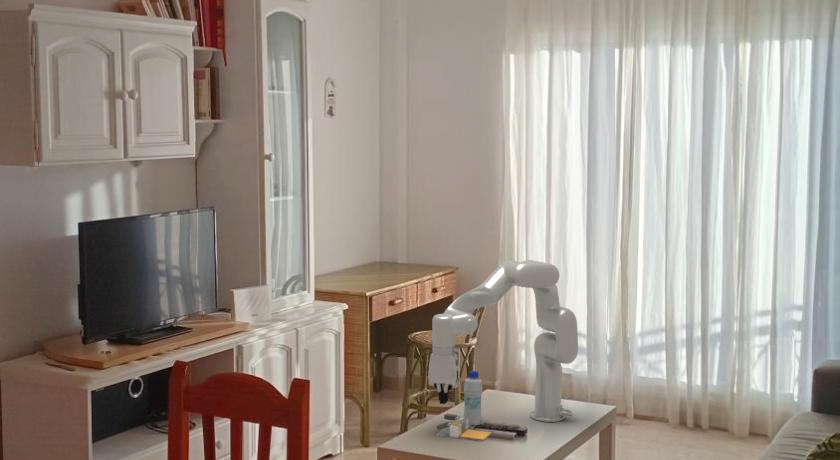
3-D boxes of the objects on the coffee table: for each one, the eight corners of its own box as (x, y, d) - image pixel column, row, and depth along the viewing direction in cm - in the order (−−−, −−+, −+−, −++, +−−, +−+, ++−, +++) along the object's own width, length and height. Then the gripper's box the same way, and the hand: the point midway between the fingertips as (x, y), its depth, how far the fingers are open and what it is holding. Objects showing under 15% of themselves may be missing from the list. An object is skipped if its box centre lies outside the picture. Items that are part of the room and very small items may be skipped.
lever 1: (452, 424, 352) (451, 420, 352) (450, 426, 350) (448, 422, 350) (440, 428, 354) (438, 424, 354) (437, 430, 352) (436, 426, 352)
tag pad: (491, 433, 355) (491, 432, 355) (483, 440, 347) (483, 439, 347) (467, 430, 358) (467, 429, 358) (459, 436, 350) (459, 436, 350)
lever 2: (459, 419, 360) (459, 415, 360) (457, 420, 357) (457, 417, 357) (446, 417, 362) (446, 413, 362) (443, 419, 359) (444, 415, 359)
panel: (493, 434, 357) (494, 419, 357) (482, 444, 345) (482, 428, 344) (447, 428, 363) (447, 413, 363) (434, 438, 351) (435, 422, 351)
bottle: (483, 424, 369) (485, 369, 367) (478, 429, 362) (480, 374, 360) (465, 422, 371) (467, 368, 369) (460, 427, 365) (461, 372, 363)
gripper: (467, 349, 351) (467, 402, 353) (426, 346, 356) (427, 398, 358) (460, 354, 344) (460, 408, 346) (419, 351, 349) (419, 403, 351)
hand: (443, 402), depth 352 cm, fingers closed
